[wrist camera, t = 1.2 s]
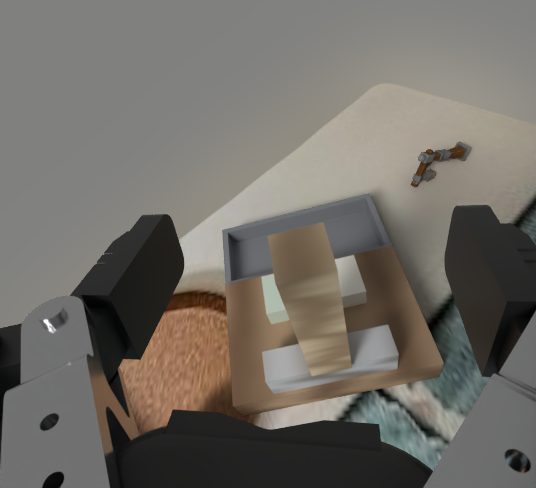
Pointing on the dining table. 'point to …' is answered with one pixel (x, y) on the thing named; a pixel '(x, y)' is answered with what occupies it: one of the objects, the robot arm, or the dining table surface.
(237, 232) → the tray
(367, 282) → the board
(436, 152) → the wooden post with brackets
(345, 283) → the tile
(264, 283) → the tile
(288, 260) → the scraper
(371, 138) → the dining table surface
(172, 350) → the dining table surface
